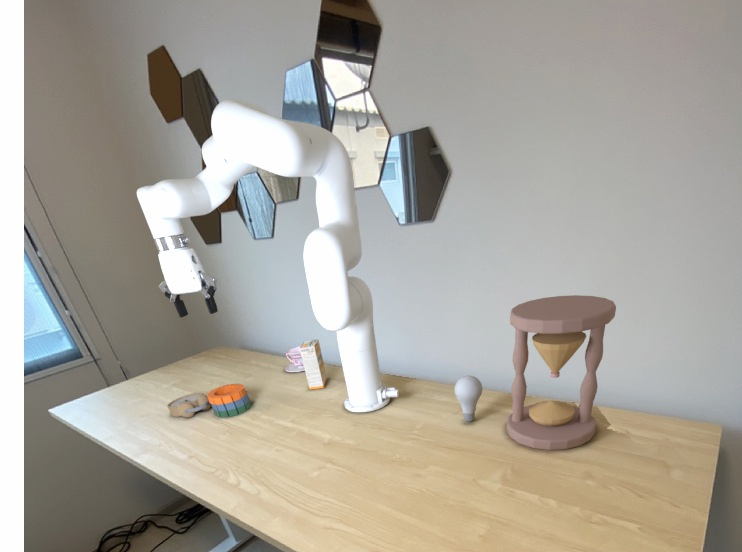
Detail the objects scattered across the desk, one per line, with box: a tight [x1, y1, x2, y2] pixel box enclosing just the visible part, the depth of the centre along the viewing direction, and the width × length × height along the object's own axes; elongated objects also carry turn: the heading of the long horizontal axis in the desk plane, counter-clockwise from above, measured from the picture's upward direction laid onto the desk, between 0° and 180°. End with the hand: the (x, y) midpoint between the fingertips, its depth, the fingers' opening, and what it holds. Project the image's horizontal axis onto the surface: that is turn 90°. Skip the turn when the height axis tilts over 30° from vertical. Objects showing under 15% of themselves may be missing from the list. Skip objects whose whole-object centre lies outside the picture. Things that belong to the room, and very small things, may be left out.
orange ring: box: [206, 383, 247, 405], centre depth 120 cm, size 11×11×2 cm
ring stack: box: [211, 390, 252, 418], centre depth 122 cm, size 11×11×4 cm
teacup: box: [284, 345, 305, 373], centre depth 146 cm, size 12×12×6 cm
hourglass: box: [506, 294, 617, 451], centre depth 81 cm, size 18×18×25 cm
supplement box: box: [300, 338, 328, 390], centre depth 127 cm, size 8×5×13 cm, turn 179°
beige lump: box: [166, 392, 212, 419], centre depth 125 cm, size 11×5×15 cm
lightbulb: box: [454, 375, 483, 423], centre depth 93 cm, size 6×6×11 cm
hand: (199, 314), depth 114 cm, fingers open, 9 cm apart
